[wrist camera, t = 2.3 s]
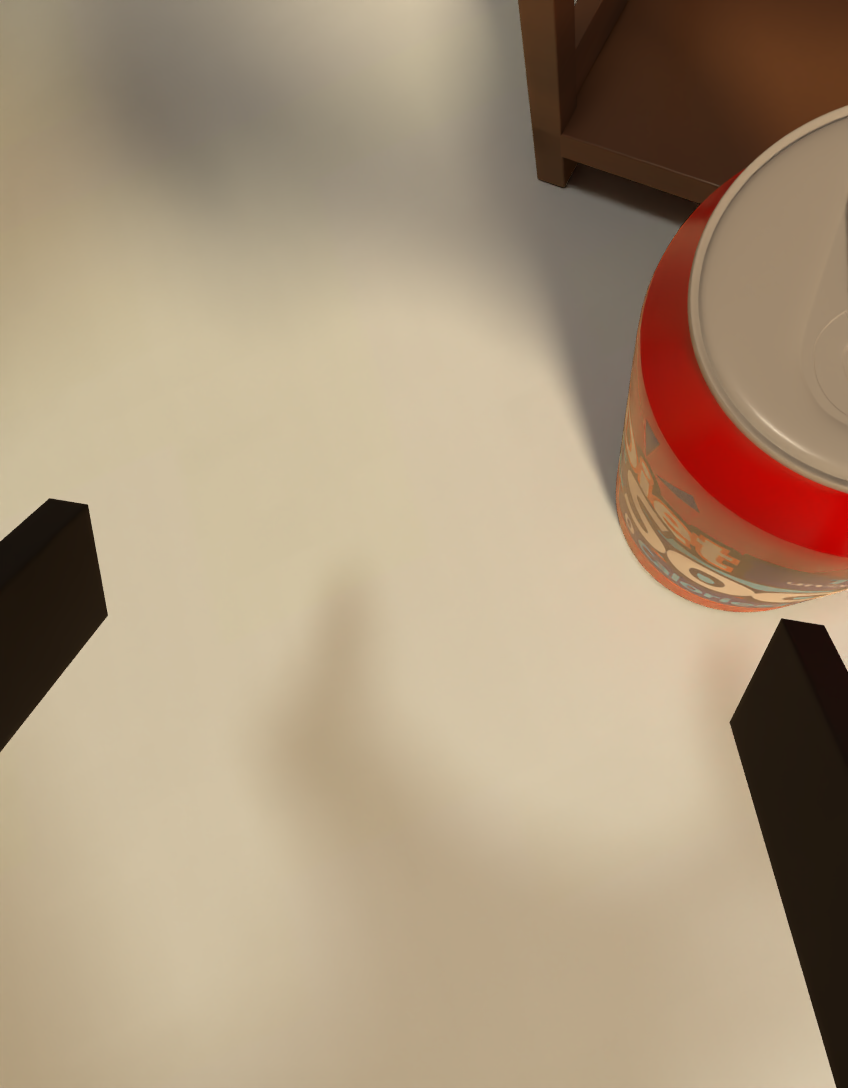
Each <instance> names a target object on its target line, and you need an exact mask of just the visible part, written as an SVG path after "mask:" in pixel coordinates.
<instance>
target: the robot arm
mask: <svg viewBox="0 0 848 1088" xmlns="http://www.w3.org/2000/svg"><path fill="white" fill-rule="evenodd" d="M107 616H108V613H107V608H106V602H105V597H104V591H103V586H102V580H101V575H100V569H99V564H98V558H97V553H96V547H95V541H94V536H93V530H92V525H91V519H90V514H89V508H88V505H87V504H81V503H74V502H68V501H62V500H56V499H50V498H49V499H48V500H47V501H46V502H45V503H44V504H42V505H41V506H40V507H39V508H38V509H37V510H36V511H35V512H33V513H32V514H31V515H30V516H29V517H28V518H27V519H25V520H24V521H23V522H22V523H21V524H20V525H19V526H17V527H16V528H15V529H14V530H13V531H12V532H11V533H10V534H8V535H7V536H6V537H5V538H4V539H3V540H2V541H0V752H1V751H2V749H3V748H4V747H5V745H6V744H7V743H8V742H9V740H10V739H11V738H12V737H13V735H14V734H15V733H16V731H17V730H18V729H19V728H20V726H21V725H22V724H23V723H24V721H25V720H26V719H27V717H28V716H29V715H30V714H31V712H32V711H33V710H34V709H35V707H36V706H37V705H38V703H39V702H40V701H41V700H42V698H43V697H44V696H45V695H46V693H47V692H48V691H49V690H50V688H51V687H52V686H53V684H54V683H55V682H56V681H57V679H58V678H59V677H60V676H61V674H62V673H63V672H64V670H65V669H66V668H67V667H68V665H69V664H70V663H71V662H72V660H73V659H74V658H75V656H76V655H77V654H78V653H79V651H80V650H81V649H82V648H83V646H84V645H85V644H86V642H87V641H88V640H89V639H90V637H91V636H92V635H93V634H94V632H95V631H96V630H97V629H98V627H99V626H100V625H101V623H102V622H103V621H104V620H105V618H106V617H107ZM730 725H731V728H732V732H733V735H734V739H735V742H736V745H737V749H738V752H739V756H740V759H741V763H742V766H743V769H744V773H745V776H746V780H747V783H748V787H749V790H750V793H751V797H752V800H753V804H754V807H755V810H756V814H757V817H758V821H759V824H760V828H761V831H762V834H763V838H764V841H765V845H766V848H767V852H768V855H769V858H770V862H771V865H772V869H773V872H774V876H775V879H776V882H777V886H778V889H779V893H780V896H781V899H782V903H783V906H784V910H785V913H786V917H787V920H788V923H789V927H790V930H791V934H792V937H793V941H794V944H795V947H796V951H797V954H798V958H799V961H800V965H801V968H802V971H803V975H804V978H805V982H806V985H807V988H808V992H809V995H810V999H811V1002H812V1006H813V1009H814V1012H815V1016H816V1019H817V1023H818V1026H819V1030H820V1033H821V1036H822V1040H823V1043H824V1047H825V1050H826V1053H827V1057H828V1060H829V1064H830V1067H831V1071H832V1074H833V1077H834V1081H835V1084H836V1088H848V671H847V669H846V667H845V665H844V663H843V661H842V660H841V658H840V656H839V654H838V652H837V650H836V648H835V646H834V644H833V642H832V640H831V638H830V636H829V634H828V632H827V630H826V628H825V626H824V625H818V624H812V623H806V622H800V621H793V620H787V619H781V620H780V622H779V624H778V626H777V628H776V630H775V632H774V634H773V637H772V639H771V641H770V643H769V645H768V647H767V649H766V651H765V653H764V655H763V657H762V659H761V661H760V663H759V665H758V667H757V669H756V671H755V673H754V675H753V677H752V679H751V681H750V683H749V685H748V687H747V689H746V691H745V693H744V695H743V697H742V699H741V701H740V703H739V705H738V707H737V709H736V711H735V713H734V715H733V717H732V719H731V721H730Z"/></svg>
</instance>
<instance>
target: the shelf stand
mask: <svg viewBox="0 0 848 1088" xmlns="http://www.w3.org/2000/svg"><path fill="white" fill-rule="evenodd" d="M518 4H519V13H520V22H521V31H522V41H523V50H524V59H525V68H526V77H527V86H528V95H529V104H530V113H531V122H532V131H533V141H534V150H535V159H536V168H537V177H538V179H540V180H543V181H546V182H549V183H552V184H554V185H557V186H560V187H563V188H564V187H565V186H566V184H567V182H568V180H569V179H570V177H571V175H572V173H573V171H574V169H575V168H576V166H577V164H578V162H579V163H582V164H585V165H588V166H591V167H594V168H596V169H599V170H602V171H605V172H608V173H611V174H614V175H617V176H620V177H623V178H626V179H629V180H632V181H635V182H638V183H641V184H644V185H647V186H649V187H652V188H655V189H658V190H661V191H664V192H667V193H670V194H673V195H676V196H679V197H682V198H685V199H688V200H691V201H694V202H697V203H700V204H701V203H702V202H703V201H704V200H705V199H706V198H707V197H709V196H710V195H711V194H712V193H713V192H714V191H715V190H716V189H718V188H719V187H720V186H721V185H723V184H724V183H725V182H726V181H728V180H729V179H730V178H732V177H733V176H734V175H736V174H737V173H739V172H740V171H742V170H743V169H745V168H746V167H748V166H749V165H750V164H751V163H752V162H753V161H754V160H755V159H756V158H757V157H758V156H759V155H760V154H762V153H763V152H764V151H765V150H766V149H768V148H769V147H770V146H771V145H773V144H774V143H776V142H777V141H778V140H780V139H781V138H783V137H784V136H786V135H787V134H789V133H790V132H792V131H793V130H795V129H797V128H798V127H800V126H802V125H804V124H806V123H807V122H809V121H811V120H813V119H815V118H817V117H820V116H822V115H824V114H826V113H828V112H831V111H833V110H836V109H838V108H841V107H844V106H847V105H848V0H577V2H576V4H575V6H574V0H518Z"/></svg>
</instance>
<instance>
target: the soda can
mask: <svg viewBox="0 0 848 1088" xmlns="http://www.w3.org/2000/svg"><path fill="white" fill-rule="evenodd" d="M616 506H617V513H618V518H619V522H620V525H621V529H622V531H623V534H624V536H625V539H626V541H627V543H628V545H629V547H630V549H631V550H632V552H633V553H634V555H635V556H636V558H637V559H638V561H639V562H640V563H641V565H642V566H643V567H644V568H645V569H646V570H647V571H648V572H649V573H650V574H651V575H652V576H653V577H654V578H655V579H656V580H657V581H658V582H660V583H661V584H662V585H663V586H665V587H666V588H668V589H669V590H671V591H672V592H674V593H676V594H677V595H679V596H681V597H683V598H685V599H687V600H690V601H692V602H694V603H697V604H700V605H703V606H706V607H710V608H714V609H718V610H724V611H733V612H758V611H766V610H772V609H777V608H782V607H786V606H790V605H793V604H797V603H801V602H804V601H808V600H812V599H815V598H819V597H823V596H826V595H830V594H834V593H837V592H841V591H845V590H848V105H847V106H844V107H841V108H838V109H836V110H833V111H831V112H828V113H826V114H824V115H822V116H820V117H817V118H815V119H813V120H811V121H809V122H807V123H806V124H804V125H802V126H800V127H798V128H797V129H795V130H793V131H792V132H790V133H789V134H787V135H786V136H784V137H783V138H781V139H780V140H778V141H777V142H776V143H774V144H773V145H771V146H770V147H769V148H768V149H766V150H765V151H764V152H763V153H762V154H760V155H759V156H758V157H757V158H756V159H755V160H754V161H753V162H752V163H751V164H750V165H749V166H748V167H746V168H745V169H743V170H742V171H740V172H739V173H737V174H736V175H734V176H733V177H732V178H730V179H729V180H728V181H726V182H725V183H724V184H723V185H721V186H720V187H719V188H718V189H716V190H715V191H714V192H713V193H712V194H711V195H710V196H709V197H707V198H706V199H705V200H704V201H703V202H702V203H701V204H700V205H699V206H698V208H697V209H696V210H695V211H694V212H693V213H692V214H691V215H690V216H689V218H688V219H687V220H686V221H685V223H684V224H683V225H682V226H681V228H680V229H679V230H678V232H677V233H676V235H675V236H674V238H673V239H672V241H671V242H670V244H669V246H668V247H667V249H666V251H665V253H664V254H663V256H662V258H661V260H660V262H659V264H658V266H657V268H656V270H655V272H654V274H653V276H652V279H651V281H650V284H649V286H648V289H647V292H646V295H645V299H644V302H643V306H642V310H641V315H640V320H639V325H638V330H637V336H636V343H635V350H634V357H633V364H632V372H631V379H630V386H629V393H628V400H627V407H626V415H625V422H624V429H623V436H622V443H621V450H620V458H619V465H618V472H617V480H616Z"/></svg>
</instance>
